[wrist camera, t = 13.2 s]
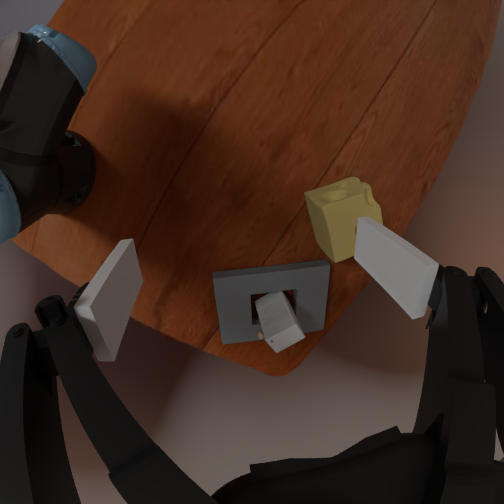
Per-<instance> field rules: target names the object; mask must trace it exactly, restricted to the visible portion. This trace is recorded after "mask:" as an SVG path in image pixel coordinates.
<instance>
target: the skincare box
mask: <svg viewBox="0 0 504 504" xmlns="http://www.w3.org/2000/svg"><path fill="white" fill-rule="evenodd" d="M255 305H256V309H257V312H258V316H259V320H260V323H261V327H262V330H263V334H264V338H265V341H266V342H267V343H268V344H269V345H270V346H271V347H272V349H273V350H274V351H275V352H276V353H278V352H280V351H281V350H283V349H285V348H287V347H289V346H291V345H293V344H294V343H296V342H298V341H300V340H302V339H303V338H305V335H304V333H303V331H302V328H301V326H300V324H299V322H298V320H297V318H296V316H295V313H294V311H293V309H292V307H291V305H290V302H289V300H288V299H287V297H286V296H285V294H284V292H283V291H276V292H270V293H268V294H267V295H265V296H263V297H261V298H260V299H258V300H256V301H255Z"/></svg>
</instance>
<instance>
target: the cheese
mask: <svg viewBox="0 0 504 504" xmlns="http://www.w3.org/2000/svg"><path fill="white" fill-rule="evenodd" d="M304 194H305V199H306V203H307V207H308V211H309V215H310V219H311V223H312V226H313V230H314V234H315V239H316V242H317V243H318V245H319V246H320V247H321V249H322V250H323V251H324V252H325V254H326V255H327V256H328V257H329V258H330V259H331V260H332V261H334V262H335V263H337V262H340V261H343V260H345V259H348V258H350V257H352V256H354V254H355V245H356V234H357V223H358V217H370V218H372V219H373V220H375V221H376V222H378V223H380V224H381V225H383V221H382V214H381V208H380V206H379V204H378V203H377V202H376V201H375V200H374V198H373V196H372V191H371V187H370V185H369V184H367V183H364V182H363V183H360V179H358V178H357V177H349V178H346V179H344V180H341V181H339V182H336V183H333V184H330V185H327V186H323V187H320V188H317V189H314V190H311V191H307V192H305V193H304Z"/></svg>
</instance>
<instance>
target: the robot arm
mask: <svg viewBox="0 0 504 504" xmlns="http://www.w3.org/2000/svg"><path fill="white" fill-rule="evenodd" d="M96 68H97V63H96V59H95V57H94V56H93V55H92V53H91V52H90V51H88V50H87V49H86V48H85V47H84V46H82V45H81V44H79V43H78V42H77V41H75V40H73V39H72V38H70V37H68V36H67V35H65V34H63V33H58V31H56V30H54V29H52V28H50V27H47V26H44V25H35V26H33V27H32V28H31V29H30V30H29V31H28V32H27V34H25V33H22V32H19V31H15V32H13V33H12V34H10V35H8V36H7V37H5V38H3V39H0V244H1V243H3V242H5V241H7V240H8V239H11V238H14V237H16V236H17V235H18V234H19V233H20V232H21V231H23V230H24V229H26V228H27V227H28V226H30V225H31V224H33V223H34V222H36V221H37V220H39V219H40V218H42V217H43V216H45V215H46V214H64V213H67V212H69V211H71V210H73V209H75V208H76V207H78V206H79V205H80V204H82V203H83V202H84V200H85V199H86V198H87V196H88V195H89V193H90V191H91V189H92V186H93V183H94V178H95V161H94V156H93V153H92V150H91V148H90V146H89V144H88V143H87V141H86V140H85V139H84V138H83V137H82V136H81V135H79V134H78V133H76V132H73V131H70V130H67V128H68V126H69V124H70V122H71V119H72V117H73V115H74V113H75V111H76V109H77V107H78V105H79V103H80V101H81V99H82V97H83V96H85V94H86V92H87V87H88V85H89V83H90V81H91V79H92V77H93V75H94V74H95V71H96ZM354 259H355V260H356V261H357V262H358V263H359V264H360V265H361V266H362V267H363V268H364V269H365V270H366V271H367V272H368V273H369V274H370V275H371V276H372V277H373V278H374V279H375V280H376V281H377V282H378V283H379V284H380V285H381V286H382V287H383V288H384V289H385V290H386V291H387V292H388V293H389V294H390V295H391V297H392V298H393V299H394V300H395V301H396V302H397V303H398V304H399V305H400V306H401V307H402V308H403V309H404V310H405V312H406V313H407V314H408V315H409V316H410V317H411V318H412V319H415V318H419V317H422V316H424V314H425V312H426V308H427V306H428V305H429V306H430V307H431V308H432V311H431V314H430V317H429V320H428V323H427V326H426V329H427V328H428V327H429V338H428V349H427V358H426V367H425V374H424V381H423V387H422V393H421V398H420V404H419V409H418V413H417V418H416V422H415V426H414V429H413V432H412V433H400V431H399V429H398V427H397V426H395V427H393V428H390V429H387V430H385V431H382V432H380V433H377V434H374V435H372V436H369V437H366V438H364V439H363V440H361V441H360V442H358V443H357V444H355V445H353V446H352V447H350V448H348V449H347V450H345V451H343V452H341V453H340V454H338V455H336V456H334V457H330V458H304V459H303V458H302V459H301V458H296V459H295V458H289V459H284V460H278V461H272V462H266V463H258V464H251V465H250V471H251V473H248V474H246V475H242V476H240V477H238V478H236V479H234V480H232V481H230V482H228V483H227V484H225V485H224V486H222V487H221V488H220V489H218V490H217V491H216V492H215V493H214V494H213V495H212V496H209V495H208V494H207V493H206V492H205V491H203V490H202V489H201V488H200V487H199V486H198V485H197V484H196V483H195V482H194V481H192V480H191V479H190V478H189V477H188V476H187V475H186V474H185V473H184V472H183V471H182V470H181V469H180V468H179V467H178V466H177V465H176V464H175V463H174V462H173V461H172V460H171V459H170V458H169V457H168V456H167V455H166V454H165V452H164V451H163V450H162V449H161V448H160V447H159V446H158V445H156V444H155V443H154V442H153V441H152V439H151V438H150V437H149V436H148V435H147V434H146V432H145V431H144V430H143V429H142V427H141V426H140V425H139V424H138V422H137V421H136V420H135V419H134V417H133V416H132V415H131V414H130V412H129V411H128V410H127V408H126V407H125V406H124V404H123V403H122V402H121V400H120V399H119V397H118V396H117V394H116V393H115V392H114V390H113V389H112V387H111V386H110V384H109V383H108V381H107V380H106V378H105V377H104V375H103V374H102V372H101V370H100V369H99V367H98V366H97V364H96V362H95V361H94V359H93V357H92V353H93V351H94V353H95V355H96V357H97V359H98V360H99V361H114V360H115V357H116V354H117V351H118V348H119V345H120V342H121V339H122V336H123V334H124V331H125V328H126V325H127V322H128V320H129V317H130V314H131V311H132V309H133V306H134V303H135V301H136V298H137V296H138V293H139V291H140V288H141V286H142V283H143V279H142V275H141V271H140V267H139V263H138V258H137V254H136V250H135V245H134V241H133V239H125V240H120V242H119V243H118V244H117V246H116V247H115V248H114V250H113V251H112V252H111V254H110V255H109V256H108V258H107V259H106V260H105V262H104V263H103V265H102V266H101V267H100V269H99V270H98V271H97V273H96V274H95V276H94V277H93V279H92V280H91V282H87V283H86V284H84V285H83V286H82V287H81V288H80V289H79V290H78V292H77V293H76V295H75V296H74V297H73V299H72V301H71V302H70V303H69V305H68V307H67V308H66V305H65V303H64V301H63V298H62V297H61V296H59V295H53V296H49V297H47V298H45V299H43V300H41V301H40V302H39V303H38V304H37V305H36V307H35V312H36V314H37V317H38V319H39V321H40V323H41V325H42V327H43V329H42V330H39V331H34V332H32V331H31V329H30V327H29V325H28V324H27V323H19V324H17V325H14V326H13V327H11V328H10V330H9V331H8V332H7V335H6V338H5V342H4V347H3V352H2V356H1V362H0V504H81V502H80V499H79V496H78V493H77V489H76V486H75V483H74V479H73V476H72V472H71V468H70V464H69V460H68V456H67V451H66V447H65V442H64V436H63V431H62V424H61V418H60V411H59V402H58V392H57V380H56V376H58V375H59V376H60V378H61V381H62V383H63V386H64V388H65V390H66V393H67V395H68V397H69V399H70V402H71V404H72V406H73V408H74V410H75V412H76V414H77V416H78V418H79V420H80V422H81V424H82V426H83V428H84V429H85V431H86V433H87V435H88V437H89V439H90V440H91V442H92V444H93V445H94V447H95V449H96V450H97V452H98V454H99V455H100V457H101V459H102V460H103V462H104V463H105V465H106V466H107V468H108V470H109V471H110V473H109V474H108V475H109V478H110V479H111V481H112V483H113V485H114V486H115V488H116V489H117V490H118V492H119V493H120V494H121V495H122V497H123V498H124V500H125V501H126V502H127V503H128V504H504V457H503V458H502V459H501V460H500V461H496V460H494V452H495V438H496V437H495V436H496V429H497V433H498V438H499V441H500V444H501V448H502V451H503V453H504V284H503V282H502V281H501V279H500V278H499V277H498V276H497V274H496V273H495V272H494V271H492V270H491V269H490V268H487V267H478V268H477V269H476V273H475V276H468V275H467V273H466V272H465V271H464V270H462V269H460V268H458V267H454V266H447V267H445V268H444V267H443V266H441V265H440V264H439V263H437V262H436V261H434V260H433V259H431V258H430V257H429V256H428V255H426V254H425V253H423V252H422V251H421V250H419V249H417V248H415V247H414V246H413V245H411V244H410V243H409V242H407V241H406V240H404V239H402V238H401V237H400V236H398V235H397V234H395V233H394V232H392V231H391V230H389V229H387V228H386V227H384V226H383V225H381V224H380V223H378V222H376V221H375V220H373V219H372V218H370V217H358V223H357V234H356V245H355V254H354ZM487 305H488V306H487ZM486 307H487V311H486V314H485V310H486ZM484 379H485V380H484Z"/></svg>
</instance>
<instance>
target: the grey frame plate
mask: <svg viewBox="0 0 504 504" xmlns="http://www.w3.org/2000/svg"><path fill="white" fill-rule="evenodd" d="M329 275H330V264H329V263H328V262H327V260H326V259H325V260H317V261H308V262H300V263H291V264H282V265H273V266H265V267H255V268H246V269H237V270H227V271H218V272H213V285H214V292H215V299H216V305H217V312H218V319H219V325H220V331H221V338H222V344H230V343H239V342H247V341H255V340H263V339H265V338H264V334H263V330H262V327H261V323H260V320H259V317H255V318H252V313H251V298H250V295H252V294H260V293H268V292H276V291H284V290H292V289H294V291H293V311H294V313H295V316H296V318H297V320H298V322H299V324H300V326H301V328H302V331H303V333H308V332H314V331H319V330H323V329H324V321H325V313H326V304H327V295H328V285H329Z"/></svg>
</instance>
